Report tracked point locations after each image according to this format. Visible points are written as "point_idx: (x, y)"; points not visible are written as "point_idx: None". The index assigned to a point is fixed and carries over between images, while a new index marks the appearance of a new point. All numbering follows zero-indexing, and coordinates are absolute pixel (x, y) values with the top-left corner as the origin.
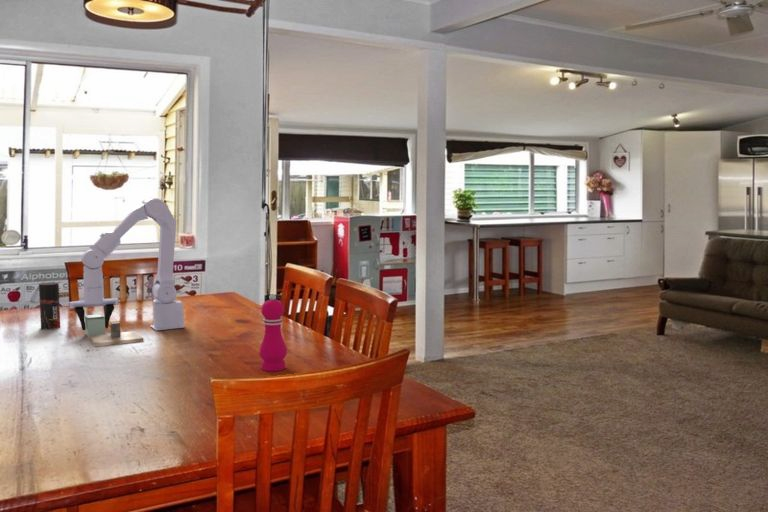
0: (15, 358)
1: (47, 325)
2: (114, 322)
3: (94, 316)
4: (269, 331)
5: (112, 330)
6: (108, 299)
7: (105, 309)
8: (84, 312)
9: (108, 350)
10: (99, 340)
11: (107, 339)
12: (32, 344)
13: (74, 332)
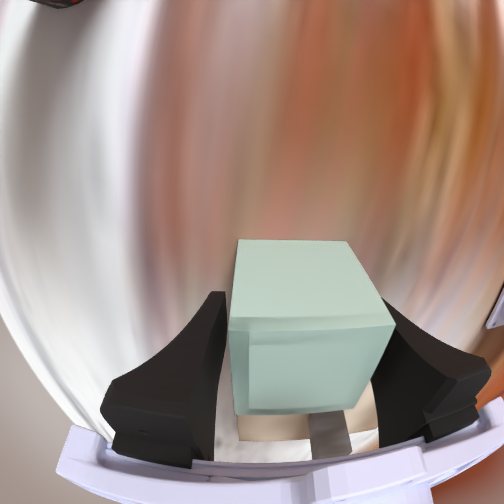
0: (73, 413)
1: (46, 4)
2: (332, 457)
3: (299, 390)
4: None
5: (311, 443)
6: (449, 476)
7: (399, 416)
8: (212, 451)
9: (262, 453)
10: (258, 428)
11: (285, 426)
12: (44, 328)
13: (175, 155)
